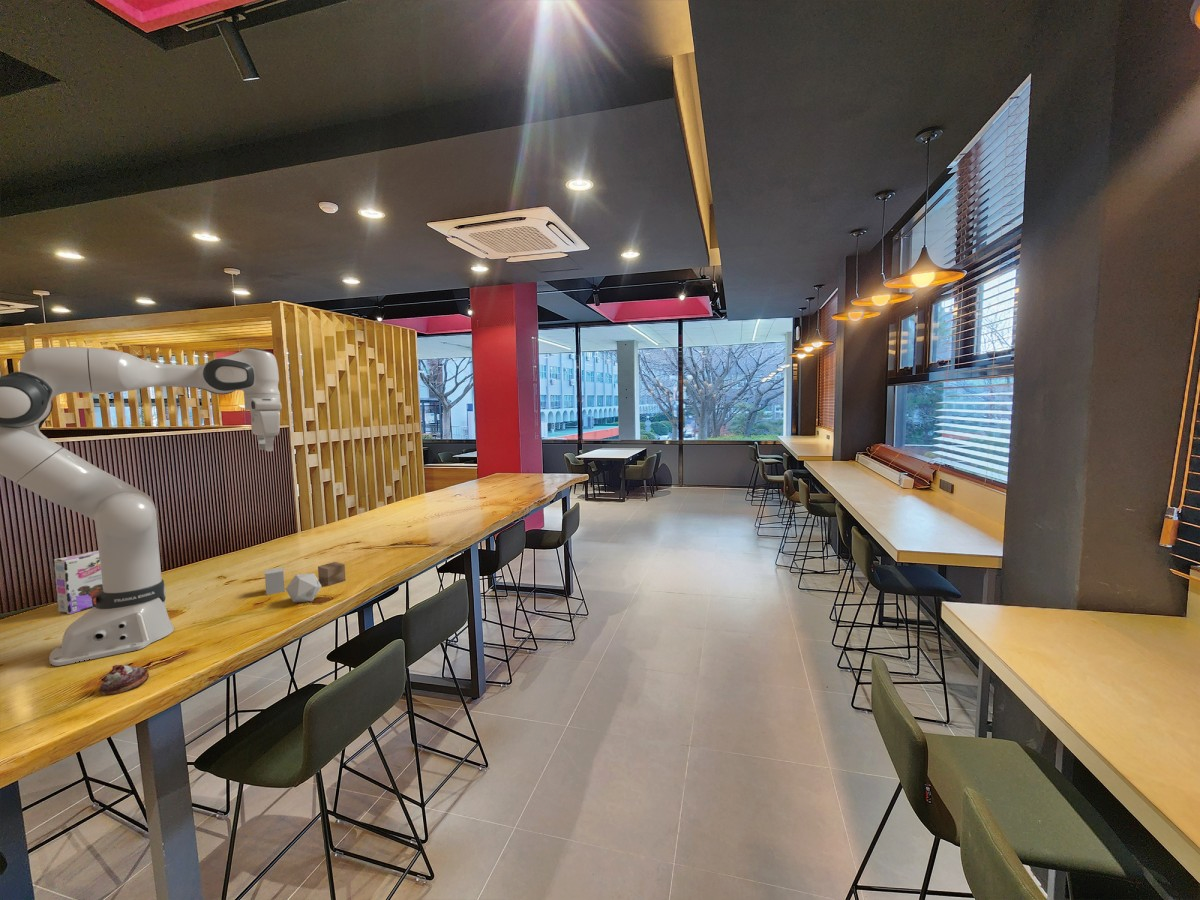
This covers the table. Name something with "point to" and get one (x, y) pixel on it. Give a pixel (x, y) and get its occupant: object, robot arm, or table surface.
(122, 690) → the pastry
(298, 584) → the die
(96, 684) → the table surface
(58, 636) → the table surface
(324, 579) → the walnut cube
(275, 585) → the grey plastic block
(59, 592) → the candy box
